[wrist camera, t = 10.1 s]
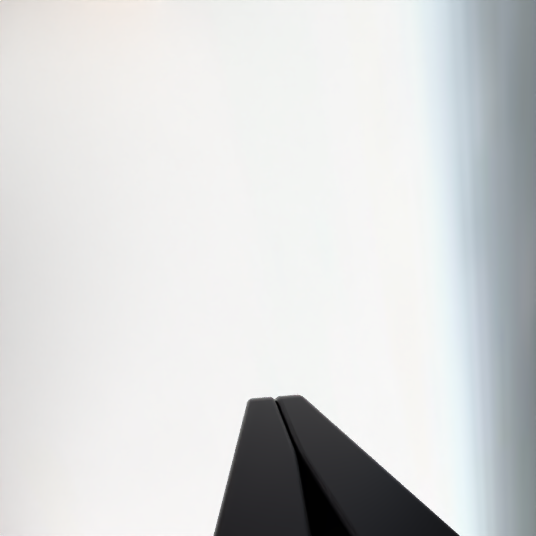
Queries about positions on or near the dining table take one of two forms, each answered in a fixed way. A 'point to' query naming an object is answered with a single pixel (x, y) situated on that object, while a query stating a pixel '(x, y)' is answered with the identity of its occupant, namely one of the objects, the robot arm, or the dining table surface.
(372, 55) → the dining table surface
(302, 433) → the robot arm
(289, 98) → the dining table surface
